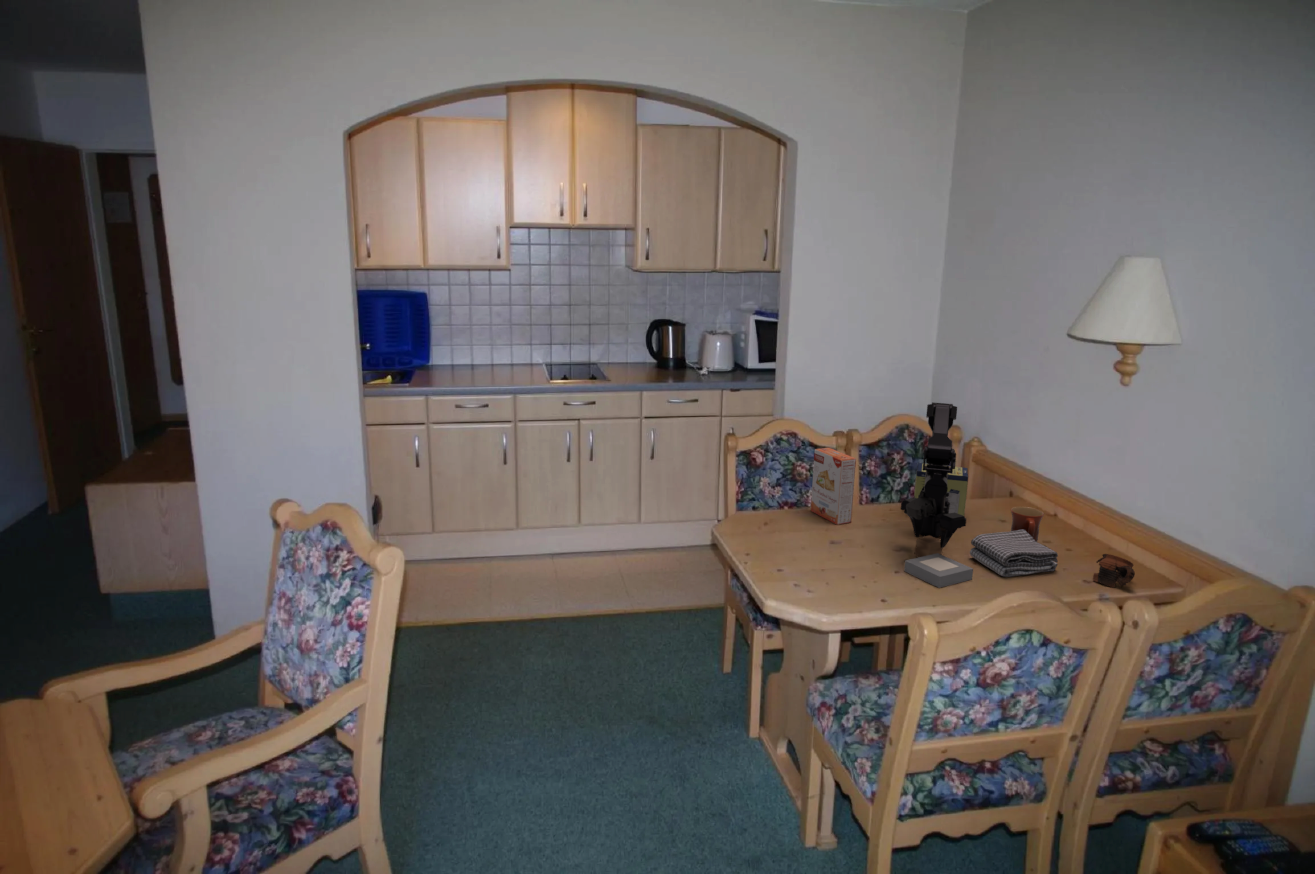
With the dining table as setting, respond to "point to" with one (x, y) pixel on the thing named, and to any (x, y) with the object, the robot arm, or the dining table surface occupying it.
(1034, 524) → the mug
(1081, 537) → the dining table surface
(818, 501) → the cracker box
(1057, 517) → the dining table surface
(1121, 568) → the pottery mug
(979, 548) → the towel
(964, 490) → the protein box
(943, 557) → the pedestal
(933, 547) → the walnut cube
